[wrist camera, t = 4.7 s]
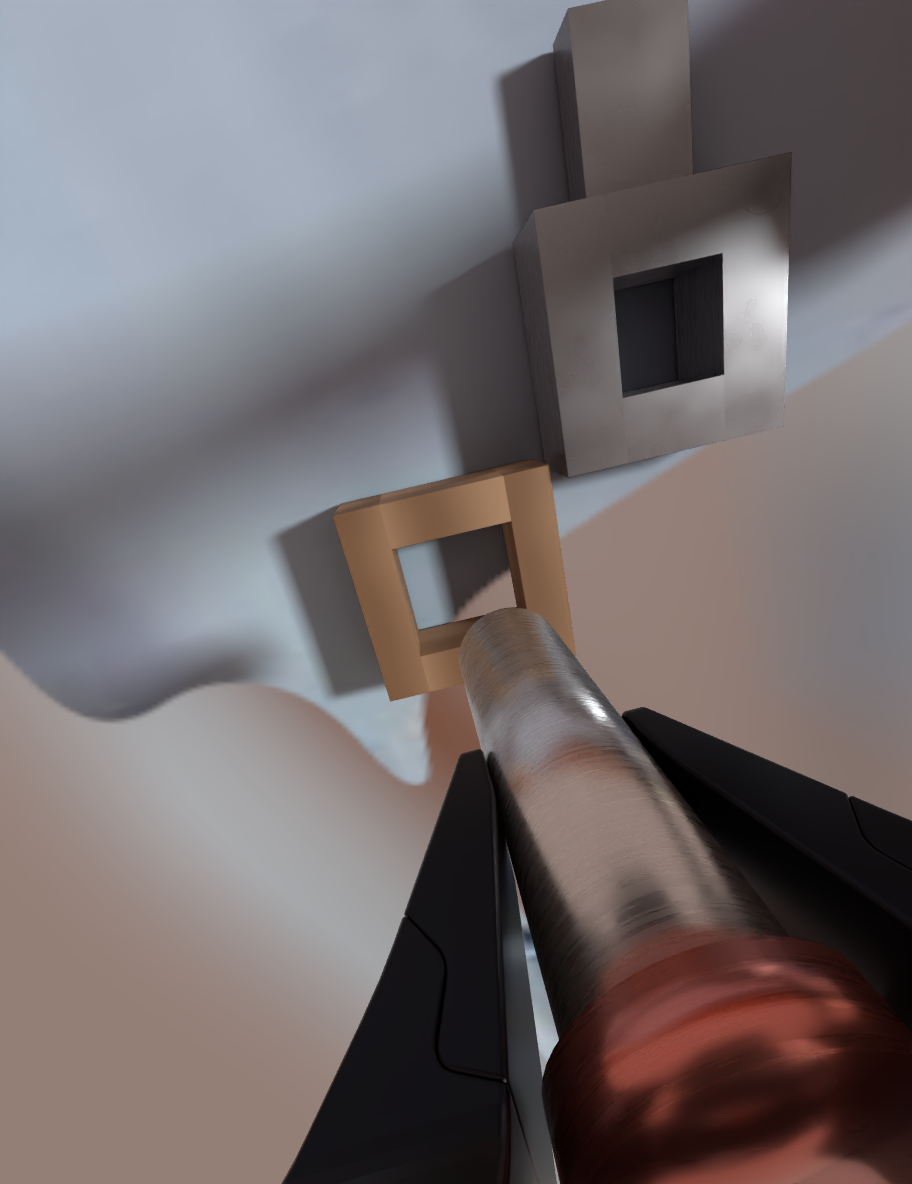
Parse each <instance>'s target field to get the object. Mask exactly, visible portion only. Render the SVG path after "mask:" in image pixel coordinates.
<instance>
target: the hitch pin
mask: <svg viewBox="0 0 912 1184" xmlns="http://www.w3.org/2000/svg"><path fill="white" fill-rule="evenodd" d="M459 666H460V670H461V674H462V678H463V682H464V685H465V689H466V693H467V697H468V700H469V704H470V708H471V712H472V715H473V719H474V723H475V727H476V730H477V734H478V738H479V742H480V745H481V749H482V751H483V752H484V756H485V759H486V763H487V766H488V770H489V773H490V777H491V781H492V784H493V788H494V792H495V796H496V801H497V805H498V809H499V813H500V818H501V822H502V827H503V831H504V835H505V839H506V843H507V846H508V850H509V854H510V858H511V861H512V865H513V868H514V872H515V876H516V880H517V884H518V888H519V891H520V895H521V899H522V903H523V906H524V910H525V914H526V917H527V921H528V925H529V929H530V932H531V936H532V940H533V944H534V947H535V951H536V955H537V959H538V962H539V966H540V970H541V974H542V977H543V981H544V985H545V989H546V992H547V996H548V1000H549V1004H550V1007H551V1011H552V1015H553V1019H554V1022H555V1026H556V1030H557V1034H558V1037H559V1041H558V1043H557V1044H556V1046H555V1047H554V1049H553V1051H552V1053H551V1055H550V1058H549V1060H548V1062H547V1064H546V1068H545V1071H544V1075H543V1079H542V1091H541V1094H542V1101H543V1107H544V1112H545V1116H546V1121H547V1126H548V1130H549V1135H550V1139H551V1144H552V1149H553V1153H554V1158H555V1162H556V1167H557V1172H558V1176H559V1180H560V1184H912V1033H911V1032H910V1030H909V1029H908V1028H907V1027H906V1026H905V1024H904V1023H903V1022H902V1021H901V1020H900V1019H899V1017H898V1016H897V1015H896V1014H895V1013H894V1011H893V1010H892V1009H891V1008H890V1007H889V1006H888V1004H887V1003H886V1002H885V1001H884V1000H883V998H882V997H881V996H880V995H879V994H878V993H877V991H876V990H875V989H874V988H873V987H872V985H871V984H870V983H869V982H868V981H867V980H866V978H865V977H864V976H863V975H862V974H861V972H860V971H859V970H858V969H857V968H856V967H855V965H854V964H853V963H852V962H851V961H849V960H848V959H847V958H846V957H845V956H844V955H842V954H841V953H839V952H837V951H836V950H834V949H832V948H830V947H828V946H826V945H823V944H820V943H817V942H814V941H811V940H806V939H801V938H796V937H790V936H789V935H788V933H787V932H786V931H785V929H784V928H783V927H782V925H781V924H780V923H779V922H778V920H777V919H776V918H775V916H774V915H773V914H772V912H771V911H770V910H769V908H768V907H767V906H766V905H765V903H764V902H763V901H762V899H761V898H760V897H759V895H758V894H757V893H756V892H755V890H754V889H753V888H752V886H751V885H750V884H749V882H748V881H747V880H746V879H745V877H744V876H743V875H742V873H741V872H740V871H739V869H738V868H737V867H736V866H735V864H734V863H733V862H732V860H731V859H730V858H729V856H728V855H727V854H726V853H725V851H724V850H723V849H722V847H721V846H720V845H719V843H718V842H717V841H716V839H715V838H714V837H713V836H712V834H711V833H710V832H709V830H708V829H707V828H706V826H705V825H704V824H703V823H702V821H701V820H700V819H699V817H698V816H697V815H696V813H695V812H694V811H693V810H692V808H691V807H690V806H689V804H688V803H687V802H686V800H685V799H684V798H683V797H682V795H681V794H680V793H679V791H678V790H677V789H676V787H675V786H674V785H673V783H672V782H671V781H670V780H669V778H668V777H667V776H666V774H665V773H664V772H663V770H662V769H661V768H660V767H659V765H658V764H657V763H656V761H655V760H654V759H653V757H652V756H651V755H650V754H649V752H648V751H647V750H646V748H645V747H644V746H643V744H642V743H641V742H640V741H639V739H638V738H637V737H636V735H635V734H634V733H633V731H632V730H631V729H630V728H629V726H628V725H627V724H626V722H625V721H624V720H623V718H622V717H621V716H620V715H619V713H618V712H617V711H616V709H615V708H614V707H613V705H612V704H611V703H610V701H609V700H608V699H607V698H606V696H605V695H604V694H603V693H602V691H601V690H600V688H599V687H598V686H597V685H596V683H595V682H594V681H593V679H592V678H591V677H590V675H589V674H588V673H587V672H586V670H585V669H584V668H583V666H582V665H581V664H580V662H579V661H578V660H577V658H576V657H575V656H574V655H573V653H572V652H571V651H570V649H569V648H568V647H567V645H566V644H565V643H564V642H563V640H562V639H561V638H560V636H559V635H558V634H557V632H556V631H555V630H554V629H553V627H552V626H551V625H550V623H549V622H548V621H547V620H546V619H545V618H544V617H542V616H541V615H539V614H537V613H535V612H533V611H531V610H528V609H523V608H504V609H499V610H496V611H493V612H491V613H489V614H487V615H485V616H483V617H482V618H480V619H479V620H478V621H476V622H475V623H474V624H473V625H472V626H471V627H470V629H469V630H468V631H467V633H466V634H465V636H464V638H463V640H462V643H461V646H460V649H459Z"/></svg>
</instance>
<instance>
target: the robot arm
mask: <svg viewBox="0 0 912 1184" xmlns="http://www.w3.org/2000/svg"><path fill="white" fill-rule="evenodd" d="M622 718H623V720H624V721H625V722H626V724H627V725H628V726H629V728H630V729H631V730H632V731H633V733H634V734H635V735H636V737H637V738H638V739H639V741H640V742H641V743H642V744H643V746H644V747H645V748H646V750H647V751H648V752H649V754H650V755H651V756H652V757H653V759H654V760H655V761H656V763H657V764H658V765H659V767H660V768H661V769H662V770H663V772H664V773H665V774H666V776H667V777H668V778H669V780H670V781H671V782H672V783H673V785H674V786H675V787H676V789H677V790H678V791H679V793H680V794H681V795H682V797H683V798H684V799H685V800H686V802H687V803H688V804H689V806H690V807H691V808H692V810H693V811H694V812H695V813H696V815H697V816H698V817H699V819H700V820H701V821H702V823H703V824H704V825H705V826H706V828H707V829H708V830H709V832H710V833H711V834H712V836H713V837H714V838H715V839H716V841H717V842H718V843H719V845H720V846H721V847H722V849H723V850H724V851H725V853H726V854H727V855H728V856H729V858H730V859H731V860H732V862H733V863H734V864H735V866H736V867H737V868H738V869H739V871H740V872H741V873H742V875H743V876H744V877H745V879H746V880H747V881H748V882H749V884H750V885H751V886H752V888H753V889H754V890H755V892H756V893H757V894H758V895H759V897H760V898H761V899H762V901H763V902H764V903H765V905H766V906H767V907H768V908H769V910H770V911H771V912H772V914H773V915H774V916H775V918H776V919H777V920H778V922H779V923H780V924H781V925H782V927H783V928H784V929H785V931H786V932H787V933H788V935H789V936H790V937H796V938H801V939H806V940H811V941H814V942H817V943H820V944H823V945H826V946H828V947H830V948H832V949H834V950H836V951H837V952H839V953H841V954H842V955H844V956H845V957H846V958H847V959H848V960H849V961H851V962H852V963H853V964H854V965H855V967H856V968H857V969H858V970H859V971H860V972H861V974H862V975H863V976H864V977H865V978H866V980H867V981H868V982H869V983H870V984H871V985H872V987H873V988H874V989H875V990H876V991H877V993H878V994H879V995H880V996H881V997H882V998H883V1000H884V1001H885V1002H886V1003H887V1004H888V1006H889V1007H890V1008H891V1009H892V1010H893V1011H894V1013H895V1014H896V1015H897V1016H898V1017H899V1019H900V1020H901V1021H902V1022H903V1023H904V1024H905V1026H906V1027H907V1028H908V1029H909V1030H910V1032H911V1033H912V821H911V820H909V819H906V818H904V817H901V816H899V815H897V814H894V813H892V812H889V811H887V810H884V809H882V808H879V807H877V806H875V805H873V804H870V803H868V802H865V801H863V800H861V799H858V798H856V797H854V796H851V797H849V798H848V795H847V794H846V793H844V792H842V791H839V790H837V789H834V788H832V787H830V786H828V785H825V784H823V783H821V782H818V781H816V780H814V779H811V778H809V777H807V776H804V775H802V774H800V773H797V772H795V771H793V770H790V769H788V768H786V767H783V766H781V765H779V764H776V763H774V762H772V761H769V760H767V759H765V758H762V757H760V756H758V755H755V754H753V753H751V752H748V751H746V750H744V749H741V748H739V747H737V746H734V745H732V744H730V743H727V742H725V741H723V740H720V739H718V738H716V737H713V736H711V735H709V734H706V733H704V732H702V731H699V730H697V729H695V728H692V727H690V726H687V725H685V724H683V723H681V722H678V721H676V720H674V719H671V718H669V717H667V716H664V715H662V714H660V713H657V712H655V711H653V710H650V709H648V708H645V707H640V708H636V709H633V710H629V711H625V712H624V713H623V714H622ZM541 1091H542V1072H541V1065H540V1057H539V1050H538V1042H537V1035H536V1028H535V1021H534V1013H533V1006H532V999H531V991H530V984H529V977H528V969H527V962H526V955H525V947H524V940H523V933H522V926H521V918H520V911H519V904H518V896H517V890H516V884H515V878H514V873H513V869H512V865H511V861H510V856H509V853H508V848H507V843H506V839H505V835H504V831H503V827H502V822H501V818H500V813H499V809H498V805H497V801H496V796H495V792H494V788H493V784H492V781H491V777H490V773H489V770H488V766H487V763H486V759H485V756H484V752H483V751H482V750H481V749H477V750H473V751H469V752H466V753H463V754H461V755H460V757H459V759H458V762H457V765H456V768H455V771H454V774H453V777H452V779H451V782H450V785H449V788H448V790H447V793H446V796H445V799H444V802H443V805H442V808H441V811H440V813H439V816H438V819H437V822H436V825H435V827H434V831H433V833H432V836H431V839H430V842H429V845H428V848H427V850H426V853H425V856H424V859H423V862H422V864H421V867H420V870H419V873H418V876H417V879H416V882H415V884H414V887H413V890H412V893H411V896H410V899H409V902H408V904H407V908H406V910H405V917H403V918H402V921H401V924H400V926H399V929H398V932H397V935H396V938H395V941H394V944H393V946H392V949H391V951H390V954H389V956H388V959H387V962H386V965H385V967H384V969H383V972H382V975H381V977H380V980H379V982H378V984H377V987H376V989H375V991H374V993H373V995H372V998H371V1000H370V1002H369V1005H368V1007H367V1009H366V1011H365V1013H364V1016H363V1018H362V1020H361V1022H360V1024H359V1027H358V1029H357V1031H356V1033H355V1035H354V1037H353V1039H352V1041H351V1043H350V1046H349V1048H348V1050H347V1052H346V1054H345V1056H344V1058H343V1060H342V1062H341V1064H340V1067H339V1069H338V1071H337V1073H336V1075H335V1077H334V1079H333V1081H332V1084H331V1086H330V1088H329V1090H328V1092H327V1094H326V1096H325V1098H324V1100H323V1103H322V1105H321V1107H320V1109H319V1111H318V1113H317V1115H316V1117H315V1119H314V1122H313V1123H312V1126H311V1128H310V1130H309V1132H308V1134H307V1136H306V1138H305V1140H304V1142H303V1144H302V1146H301V1148H300V1151H299V1153H298V1155H297V1157H296V1159H295V1161H294V1163H293V1164H292V1166H291V1168H290V1169H289V1171H288V1173H287V1175H286V1177H285V1179H284V1180H283V1182H282V1184H557V1181H556V1175H555V1167H554V1160H553V1152H552V1145H551V1139H550V1135H549V1130H548V1126H547V1121H546V1116H545V1112H544V1107H543V1101H542V1094H541Z"/></svg>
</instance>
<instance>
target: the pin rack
mask: <svg viewBox="0 0 912 1184" xmlns="http://www.w3.org/2000/svg"><path fill="white" fill-rule="evenodd" d="M333 519H334V522H335V525H336V529H337V532H338V535H339V538H340V542H341V545H342V548H343V551H344V554H345V558H346V561H347V564H348V567H349V570H350V574H351V577H352V580H353V583H354V586H355V590H356V593H357V596H358V599H359V603H360V606H361V609H362V612H363V615H364V619H365V622H366V625H367V628H368V631H369V635H370V638H371V641H372V644H373V647H374V651H375V654H376V657H377V660H378V664H379V667H380V670H381V673H382V676H383V680H384V683H385V686H386V689H387V692H388V696H389V699H390V701H394V700H399V699H403V698H407V697H411V696H415V695H419V694H423V693H427V692H431V691H435V690H439V689H443V688H447V687H451V686H456V685H460V684H464V682H463V678H462V674H461V670H460V666H459V649H460V646H461V643H462V640H463V638H464V636H465V634H466V633H467V631H468V630H469V629H470V627H471V626H472V625H473V624H474V623H475V622H476V621H478V620H479V619H480V618H482V617H483V616H485V615H483V616H478V617H474V618H470V619H466V620H461V621H457V622H453V623H449V624H445V625H441V626H437V627H432V628H428V629H424V630H420V631H418V627H417V623H416V620H415V616H414V612H413V609H412V605H411V601H410V597H409V594H408V590H407V586H406V583H405V579H404V575H403V572H402V568H401V564H400V560H399V557H398V553H397V549H396V548H400V547H404V546H409V545H413V544H417V543H421V542H425V541H430V540H434V539H438V538H442V537H446V536H451V535H455V534H459V533H463V532H468V531H472V530H476V529H480V528H484V527H489V526H493V525H497V524H501V523H502V528H503V533H504V539H505V544H506V550H507V555H508V561H509V566H510V571H511V577H512V582H513V587H514V593H515V598H516V604H517V607H515V608H523V609H528V610H531V611H533V612H535V613H537V614H539V615H541V616H542V617H544V618H545V619H546V620H547V621H548V622H549V623H550V625H551V626H552V627H553V629H554V630H555V631H556V632H557V634H558V635H559V636H560V638H561V639H562V640H563V642H564V643H565V644H566V645H567V647H568V648H569V649H570V651H571V652H572V653H573V655H574V656H576V652H575V645H574V638H573V631H572V623H571V617H570V609H569V602H568V595H567V588H566V582H565V574H564V568H563V560H562V554H561V546H560V539H559V532H558V525H557V518H556V511H555V504H554V497H553V490H552V483H551V476H550V469H549V465H548V464H545V463H542V462H539V461H536V460H533V459H529V460H525V461H521V462H517V463H512V464H508V465H504V466H500V467H495V468H491V469H487V470H482V471H478V472H474V473H470V474H465V475H461V476H457V477H453V478H448V479H444V480H440V481H436V482H431V483H427V484H423V485H419V486H414V487H410V488H406V489H402V490H397V491H393V492H389V493H385V494H380V495H376V496H372V497H367V498H363V499H359V500H355V501H350V502H346V503H342V504H340V506H339V507H338V509H337V510H336V512H335V513H334V515H333ZM486 615H487V614H486Z"/></svg>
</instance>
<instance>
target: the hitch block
mask: <svg viewBox="0 0 912 1184" xmlns="http://www.w3.org/2000/svg"><path fill="white" fill-rule="evenodd" d="M553 49H554V58H555V68H556V77H557V86H558V96H559V105H560V115H561V124H562V133H563V143H564V152H565V162H566V171H567V180H568V190H569V199H570V202H567V203H562V204H558V205H553V206H549V207H544V208H540V209H535V210H534V211H533V212H532V214H531V215H530V217H529V218H528V220H527V221H526V223H525V224H524V226H523V227H522V229H521V231H520V232H519V234H518V235H517V237H516V238H515V240H514V241H513V248H514V255H515V262H516V269H517V276H518V283H519V290H520V296H521V303H522V310H523V317H524V324H525V331H526V338H527V345H528V352H529V358H530V365H531V372H532V379H533V386H534V393H535V400H536V407H537V414H538V420H539V427H540V434H541V441H542V448H543V455H544V462H545V464H548V465H549V469H550V470H551V471H554V472H556V473H559V474H561V475H564V476H566V477H572V476H576V475H581V474H585V473H589V472H593V471H597V470H602V469H606V468H610V467H614V466H619V465H623V464H627V463H631V462H636V461H640V460H644V459H648V458H653V457H657V456H661V455H665V454H669V453H674V452H678V451H682V450H686V449H691V448H695V447H699V446H703V445H708V444H712V443H716V442H720V441H725V440H729V439H733V438H737V437H742V436H746V435H750V434H754V433H758V432H763V431H767V430H771V429H775V428H780V427H783V426H784V408H785V373H786V338H787V303H788V267H789V232H790V197H791V161H792V152H790V153H786V154H781V155H777V156H772V157H768V158H763V159H759V160H754V161H750V162H746V163H741V164H737V165H732V166H728V167H723V168H719V169H714V170H710V171H705V172H701V173H696V174H693V153H692V120H691V88H690V55H689V22H688V0H605V1H601V2H596V3H591V4H587V5H582V6H577V7H573V8H568V10H567V12H566V15H565V17H564V19H563V22H562V24H561V27H560V29H559V32H558V34H557V37H556V39H555V41H554V44H553ZM669 278H673V280H674V302H675V324H676V346H677V368H678V380H677V381H672V382H668V383H664V384H659V385H655V386H651V387H647V388H642V389H638V390H634V391H629V392H625V393H622V384H621V372H620V360H619V348H618V336H617V324H616V313H615V301H614V291H616V290H620V289H625V288H629V287H634V286H638V285H642V284H647V283H651V282H656V281H660V280H664V279H669Z"/></svg>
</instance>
